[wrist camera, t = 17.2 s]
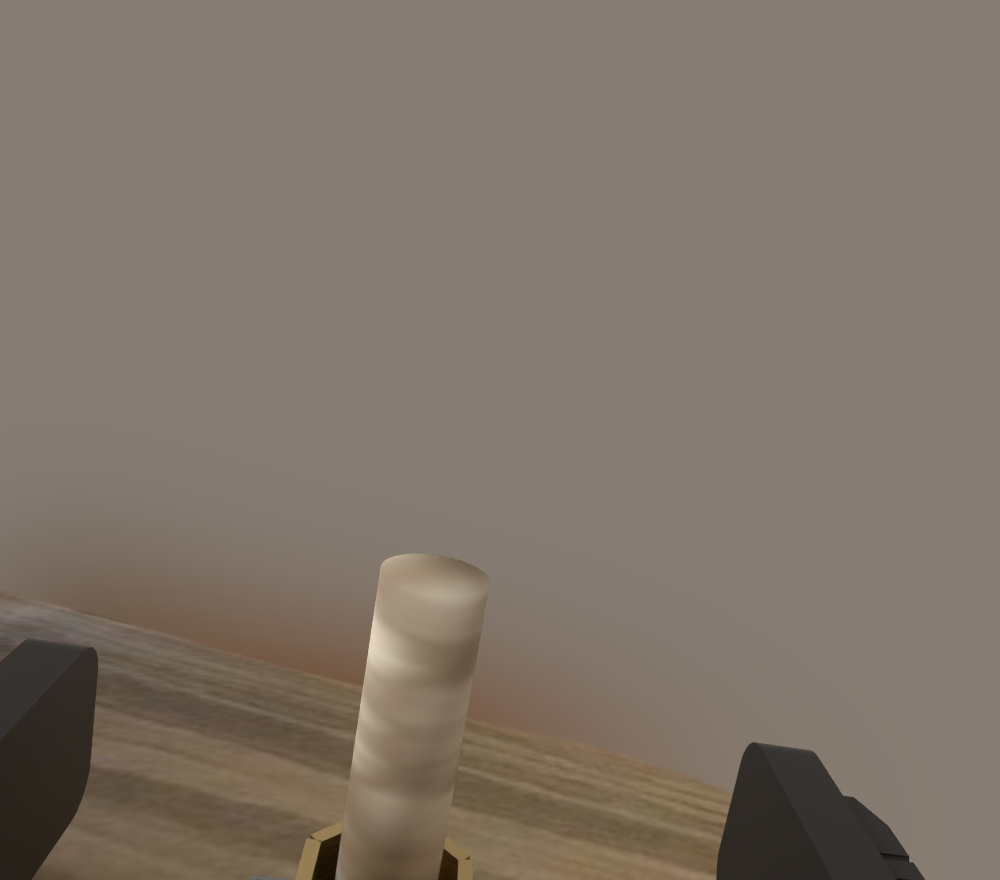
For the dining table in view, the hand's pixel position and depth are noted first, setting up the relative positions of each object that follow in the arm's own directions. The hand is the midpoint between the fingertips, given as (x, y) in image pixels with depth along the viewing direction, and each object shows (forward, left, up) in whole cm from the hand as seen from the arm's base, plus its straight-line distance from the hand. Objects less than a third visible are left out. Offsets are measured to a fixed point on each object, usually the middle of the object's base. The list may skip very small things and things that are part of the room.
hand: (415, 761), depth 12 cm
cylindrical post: (-11, +19, -22) cm, 31 cm away
